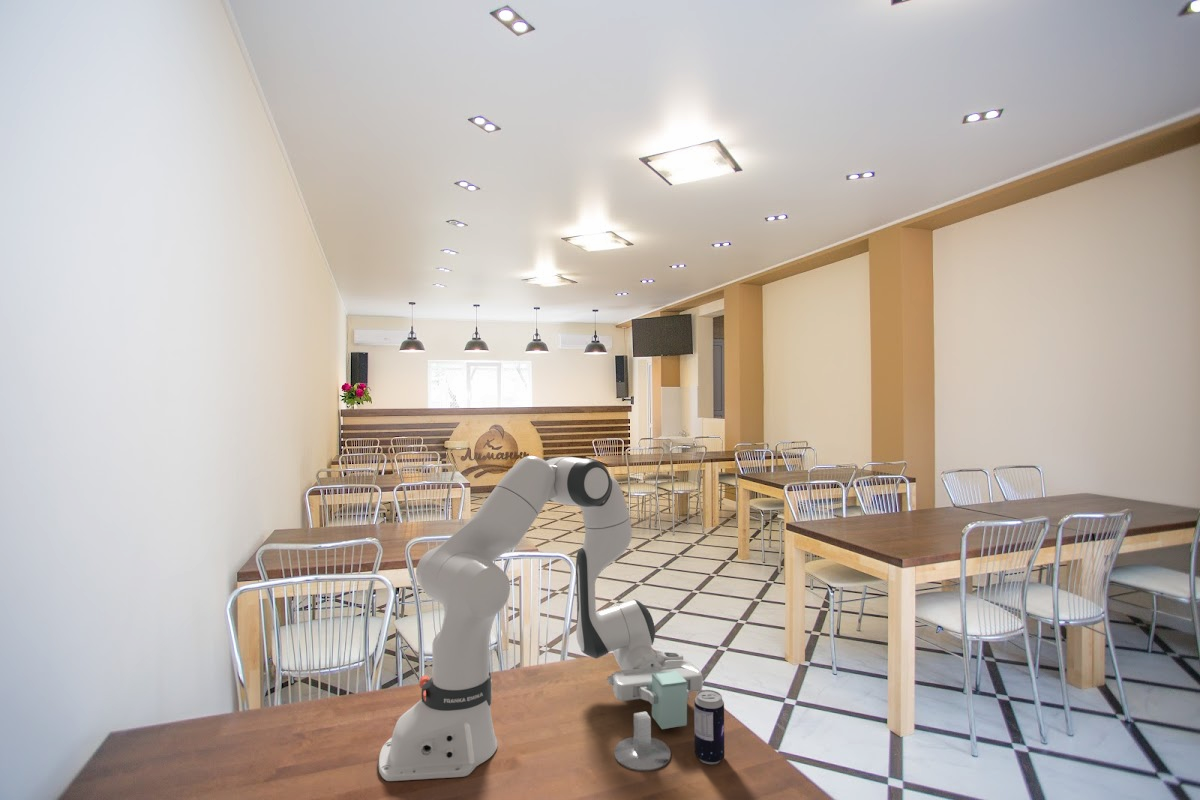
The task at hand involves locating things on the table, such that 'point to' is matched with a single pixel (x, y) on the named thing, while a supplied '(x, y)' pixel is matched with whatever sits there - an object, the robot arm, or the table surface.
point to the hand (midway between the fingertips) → (670, 698)
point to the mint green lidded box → (670, 699)
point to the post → (642, 747)
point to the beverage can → (709, 726)
